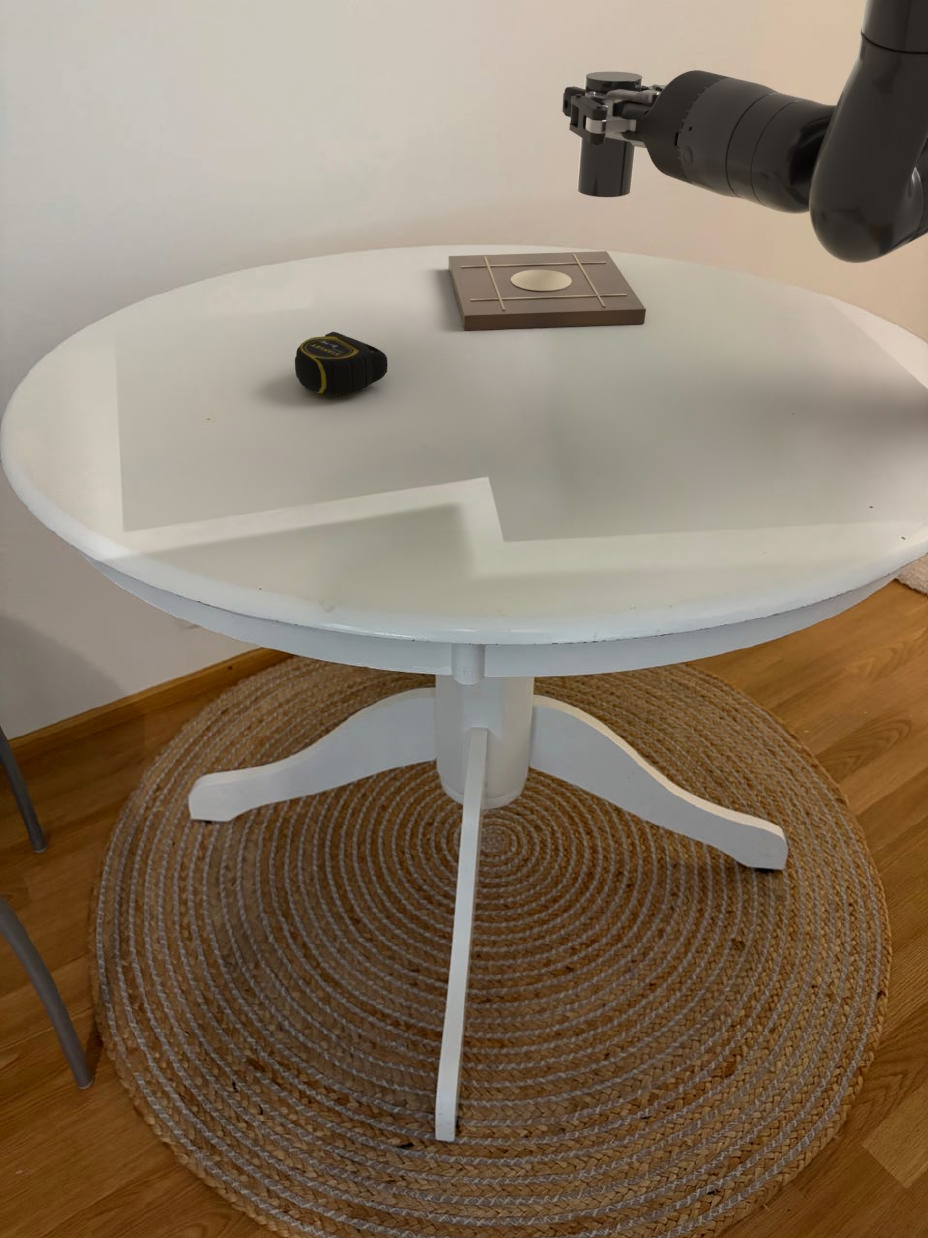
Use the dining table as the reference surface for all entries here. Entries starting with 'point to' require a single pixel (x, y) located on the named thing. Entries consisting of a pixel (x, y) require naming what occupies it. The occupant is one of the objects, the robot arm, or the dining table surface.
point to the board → (542, 291)
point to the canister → (607, 145)
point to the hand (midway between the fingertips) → (593, 97)
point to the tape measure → (338, 364)
